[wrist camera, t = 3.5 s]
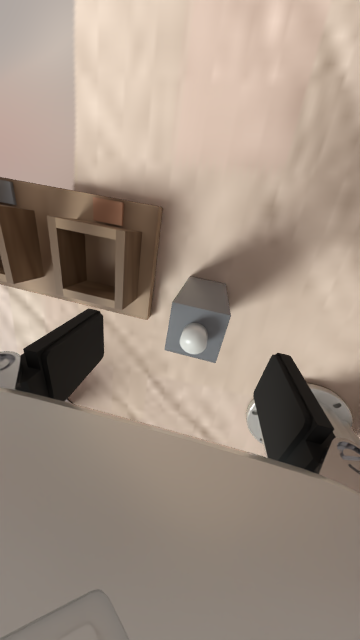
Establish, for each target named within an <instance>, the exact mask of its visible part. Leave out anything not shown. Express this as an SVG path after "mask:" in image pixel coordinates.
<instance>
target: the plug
mask: <svg viewBox="0 0 360 640" xmlns="http://www.w3.org/2000/svg"><path fill="white" fill-rule="evenodd" d="M230 317H231V313H230V307H229V301H228V295H227V288H226V284H224V283H219V282H215V281H210V280H205V279H201V278H196V277H191V276H190V277H189V279H188V280H187V282H186V283H185V285H184V286H183V287H182V289H181V290H180V292H179V293H178V295H177V296H176V298H175V299H174V301H173V302H172V308H171V314H170V320H169V326H168V332H167V338H166V344H165V350H167V351H170V352H174V353H178V354H182V355H186V356H190V357H194V358H198V359H202V360H205V361H209V362H213V363H216V360H217V357H218V354H219V351H220V348H221V345H222V342H223V338H224V335H225V332H226V329H227V326H228V323H229V320H230Z"/></svg>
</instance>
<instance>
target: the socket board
mask: <svg viewBox="0 0 360 640" xmlns="http://www.w3.org/2000/svg"><path fill="white" fill-rule="evenodd" d="M162 209H163V208H161V207H159V206H154V205H149V204H144V203H138V202H133V201H127V200H122V199H116V198H111V197H105V196H100V195H95V194H89V193H84V192H78V191H73V190H67V189H62V188H56V187H51V186H45V185H40V184H35V183H28V182H24V181H17V180H13V179H7V178H2V177H0V284H1V285H6V286H10V287H14V288H18V289H22V290H26V291H30V292H34V293H38V294H42V295H47V296H51V297H55V298H59V299H63V300H67V301H71V302H75V303H79V304H83V305H87V306H92V307H96V308H100V309H104V310H108V311H112V312H116V313H120V314H124V315H128V316H133V317H137V318H141V319H145V320H148V318H149V317H150V315H151V306H152V297H153V288H154V279H155V270H156V262H157V253H158V244H159V235H160V226H161V217H162Z"/></svg>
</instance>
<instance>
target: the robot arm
mask: <svg viewBox="0 0 360 640" xmlns="http://www.w3.org/2000/svg"><path fill="white" fill-rule="evenodd" d="M23 350H24V354H22V355H21V356H20V355H19V354H18V353H15V352H9V351H4V352H0V640H360V439H359V438H358V437H357V435H356V434H355V432H354V431H353V429H352V428H351V427H352V415H351V412H350V409H349V408H348V407H347V405H346V404H345V402H344V401H343V400H342V399H341V398H340V397H339V396H338V395H337V394H335V393H334V392H332V391H331V390H329V389H326V388H324V387H322V386H318V385H314V384H308V383H306V381H305V379H304V378H303V376H302V374H301V373H300V371H299V369H298V368H297V366H296V364H295V363H294V361H293V359H292V358H291V356H289V355H285V354H281V353H277V354H276V355H272V356H271V358H270V360H269V362H268V364H267V366H266V368H265V370H264V372H263V374H262V376H261V378H260V380H259V382H258V385H257V387H256V389H255V391H254V399H253V400H252V401H251V402H250V404H249V406H248V408H247V412H246V419H247V425H248V428H249V430H250V432H251V434H252V435H253V436H254V438H255V439H257V440H258V441H259V442H260V443H262V444H263V446H264V451H265V455H266V457H263V456H260V455H256V454H253V453H249V452H246V451H242V450H238V449H235V448H231V447H228V446H224V445H221V444H217V443H214V442H210V441H207V440H203V439H199V438H196V437H192V436H189V435H185V434H181V433H178V432H174V431H171V430H167V429H163V428H160V427H156V426H153V425H149V424H145V423H142V422H138V421H134V420H131V419H127V418H123V417H120V416H116V415H112V414H109V413H105V412H101V411H97V410H94V409H90V408H86V407H83V406H79V405H75V404H71V403H68V402H65V400H66V399H67V398H68V397H69V396H70V395H71V394H72V392H73V391H74V390H75V389H76V388H77V387H78V386H79V384H80V383H81V382H82V381H83V380H84V379H85V378H86V376H87V375H88V374H89V373H90V372H91V371H92V370H93V368H94V367H95V366H96V365H97V364H98V363H99V362H100V360H101V359H102V358H103V355H104V334H103V315H102V314H101V313H100V311H97V310H93V309H87V310H85V311H84V312H82V313H80V314H79V315H77V316H76V317H74V318H72V319H71V320H69V321H68V322H66V323H64V324H63V325H61V326H59V327H58V328H56V329H55V330H53V331H51V332H50V333H48V334H47V335H45V336H43V337H42V338H40V339H39V340H37V341H35V342H34V343H32V344H30V345H29V346H27V347H26V348H24V349H23Z"/></svg>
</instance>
